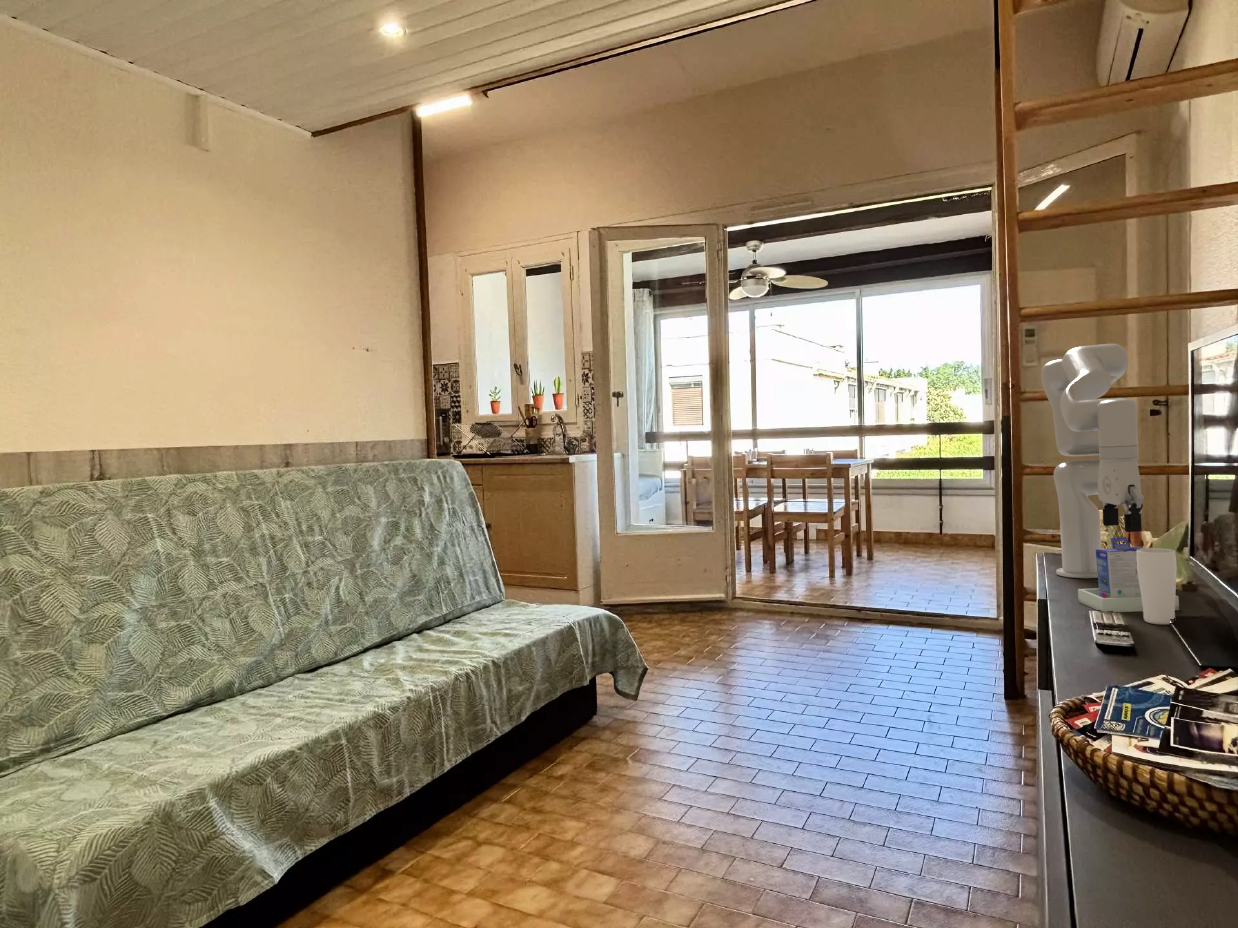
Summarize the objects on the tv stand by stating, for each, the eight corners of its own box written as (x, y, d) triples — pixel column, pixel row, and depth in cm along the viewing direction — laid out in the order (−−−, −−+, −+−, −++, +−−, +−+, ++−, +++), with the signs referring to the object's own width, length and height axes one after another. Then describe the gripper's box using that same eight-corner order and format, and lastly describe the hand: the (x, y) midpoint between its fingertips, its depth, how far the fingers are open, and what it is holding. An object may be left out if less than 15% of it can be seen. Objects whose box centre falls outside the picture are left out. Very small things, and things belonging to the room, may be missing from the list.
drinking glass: (1167, 627, 154) (1163, 553, 154) (1132, 621, 160) (1128, 550, 160) (1186, 622, 157) (1183, 549, 157) (1152, 616, 163) (1148, 547, 163)
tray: (1078, 601, 181) (1077, 589, 181) (1149, 599, 179) (1149, 586, 179) (1102, 612, 170) (1101, 598, 170) (1179, 609, 168) (1178, 596, 168)
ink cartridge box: (1141, 598, 177) (1137, 535, 177) (1156, 603, 172) (1153, 538, 171) (1097, 600, 178) (1093, 538, 177) (1110, 605, 172) (1107, 541, 172)
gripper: (1083, 453, 183) (1086, 524, 184) (1120, 456, 166) (1123, 535, 167) (1116, 450, 182) (1120, 522, 183) (1158, 454, 165) (1161, 533, 166)
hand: (1121, 528), depth 175 cm, fingers open, 9 cm apart
